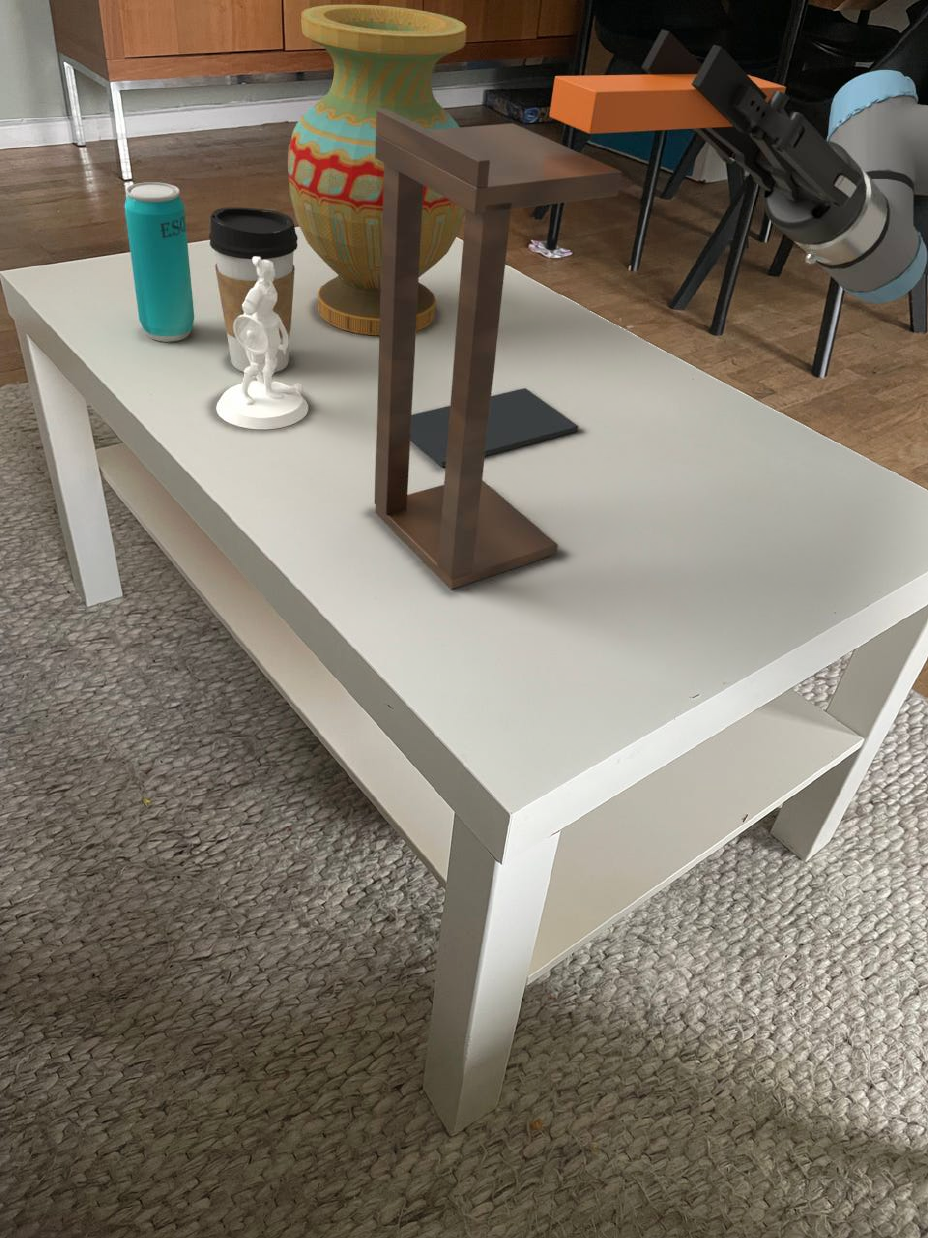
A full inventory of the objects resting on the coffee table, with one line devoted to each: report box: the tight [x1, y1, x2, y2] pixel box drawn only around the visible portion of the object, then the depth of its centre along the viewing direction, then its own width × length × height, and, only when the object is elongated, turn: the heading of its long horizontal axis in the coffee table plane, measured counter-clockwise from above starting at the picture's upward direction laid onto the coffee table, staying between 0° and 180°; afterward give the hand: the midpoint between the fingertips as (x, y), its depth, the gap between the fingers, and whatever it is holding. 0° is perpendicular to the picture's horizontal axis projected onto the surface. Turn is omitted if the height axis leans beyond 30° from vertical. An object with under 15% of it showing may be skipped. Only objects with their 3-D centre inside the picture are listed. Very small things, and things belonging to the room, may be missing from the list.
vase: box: [287, 3, 467, 336], centre depth 109 cm, size 20×20×30 cm
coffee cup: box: [208, 206, 298, 375], centre depth 101 cm, size 8×8×15 cm
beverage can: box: [124, 181, 195, 343], centre depth 105 cm, size 6×6×15 cm
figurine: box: [216, 256, 309, 430], centre depth 93 cm, size 9×9×15 cm
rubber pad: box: [410, 387, 579, 468], centre depth 98 cm, size 16×9×1 cm, turn 123°
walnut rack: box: [374, 109, 623, 590], centre depth 74 cm, size 11×12×32 cm
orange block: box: [548, 74, 787, 135], centre depth 70 cm, size 18×4×2 cm, turn 123°
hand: (680, 57), depth 69 cm, fingers closed on orange block, 4 cm apart
